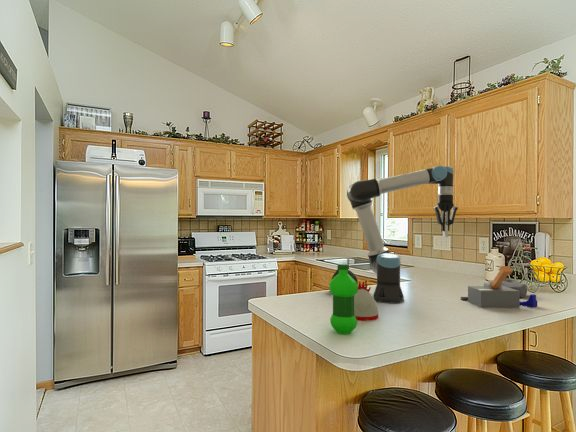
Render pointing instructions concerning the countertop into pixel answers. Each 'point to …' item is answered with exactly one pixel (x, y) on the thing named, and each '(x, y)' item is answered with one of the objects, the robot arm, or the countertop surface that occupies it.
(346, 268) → the plastic bottle
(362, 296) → the grey dome with crown
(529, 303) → the cable clip
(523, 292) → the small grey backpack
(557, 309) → the countertop surface
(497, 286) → the breaker lever
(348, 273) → the squash
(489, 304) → the block
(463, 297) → the cord bundle
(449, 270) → the countertop surface
